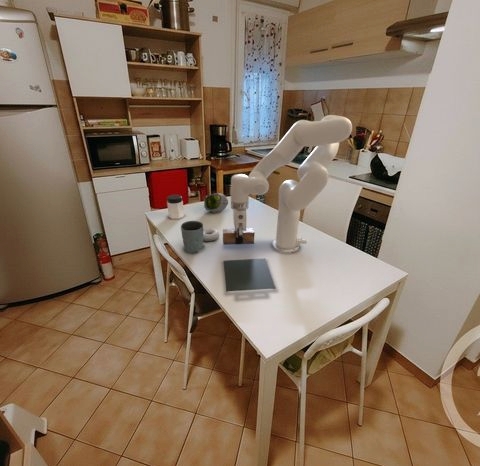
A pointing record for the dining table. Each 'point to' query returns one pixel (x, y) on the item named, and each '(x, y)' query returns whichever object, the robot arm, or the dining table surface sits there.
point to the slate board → (247, 275)
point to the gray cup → (192, 236)
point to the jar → (175, 206)
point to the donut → (210, 234)
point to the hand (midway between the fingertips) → (238, 241)
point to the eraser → (230, 236)
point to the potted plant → (215, 202)
